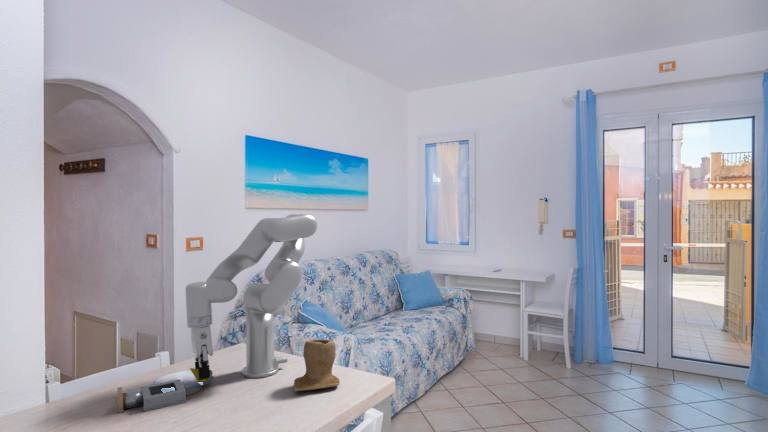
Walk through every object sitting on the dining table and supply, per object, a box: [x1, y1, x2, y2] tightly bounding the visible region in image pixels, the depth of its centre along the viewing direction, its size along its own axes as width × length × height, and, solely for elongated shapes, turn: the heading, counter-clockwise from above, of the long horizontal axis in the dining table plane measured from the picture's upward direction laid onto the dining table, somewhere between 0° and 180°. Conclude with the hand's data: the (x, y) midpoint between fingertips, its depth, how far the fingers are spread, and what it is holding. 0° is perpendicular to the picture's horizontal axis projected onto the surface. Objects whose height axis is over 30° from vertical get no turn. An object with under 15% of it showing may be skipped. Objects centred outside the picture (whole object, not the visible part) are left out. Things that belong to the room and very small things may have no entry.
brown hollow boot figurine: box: [293, 338, 341, 392], centre depth 142 cm, size 15×12×15 cm
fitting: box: [116, 378, 187, 414], centre depth 130 cm, size 17×11×6 cm, turn 123°
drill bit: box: [189, 367, 215, 387], centre depth 141 cm, size 5×5×10 cm
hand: (202, 375), depth 142 cm, fingers closed on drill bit, 5 cm apart
